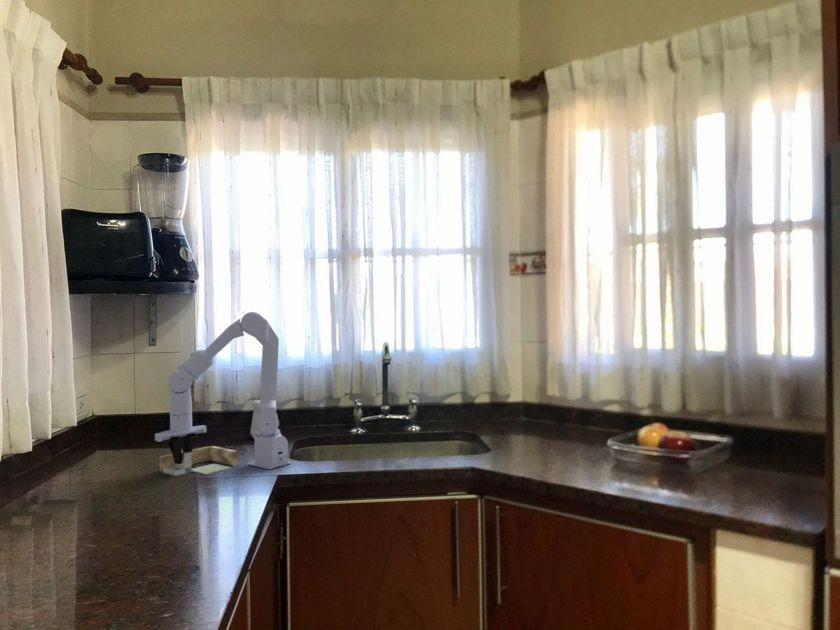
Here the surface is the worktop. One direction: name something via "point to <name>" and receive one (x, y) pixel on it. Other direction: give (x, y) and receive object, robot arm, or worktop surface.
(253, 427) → the salt shaker
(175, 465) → the bracket
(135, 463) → the worktop surface
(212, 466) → the pad
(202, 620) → the worktop surface
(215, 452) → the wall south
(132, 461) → the worktop surface
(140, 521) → the worktop surface
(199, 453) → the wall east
